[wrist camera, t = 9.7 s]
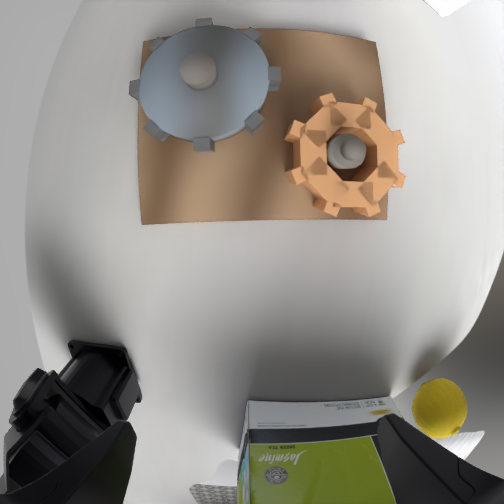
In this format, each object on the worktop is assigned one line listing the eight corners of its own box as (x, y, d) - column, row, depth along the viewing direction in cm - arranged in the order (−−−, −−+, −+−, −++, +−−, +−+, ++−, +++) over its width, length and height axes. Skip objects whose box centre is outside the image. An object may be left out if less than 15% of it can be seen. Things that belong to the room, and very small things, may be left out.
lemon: (400, 380, 22) (435, 435, 14) (444, 355, 21) (484, 401, 14) (401, 409, 23) (428, 459, 16) (441, 387, 23) (473, 431, 15)
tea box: (237, 451, 24) (233, 564, 10) (247, 395, 22) (246, 550, 8) (360, 447, 25) (390, 540, 11) (393, 392, 22) (452, 501, 8)
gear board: (148, 221, 18) (112, 239, 12) (149, 48, 14) (119, 14, 9) (379, 217, 18) (420, 232, 12) (369, 48, 14) (401, 17, 9)
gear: (285, 212, 16) (291, 217, 14) (281, 101, 15) (287, 90, 12) (386, 212, 16) (404, 217, 14) (383, 110, 15) (401, 103, 12)
